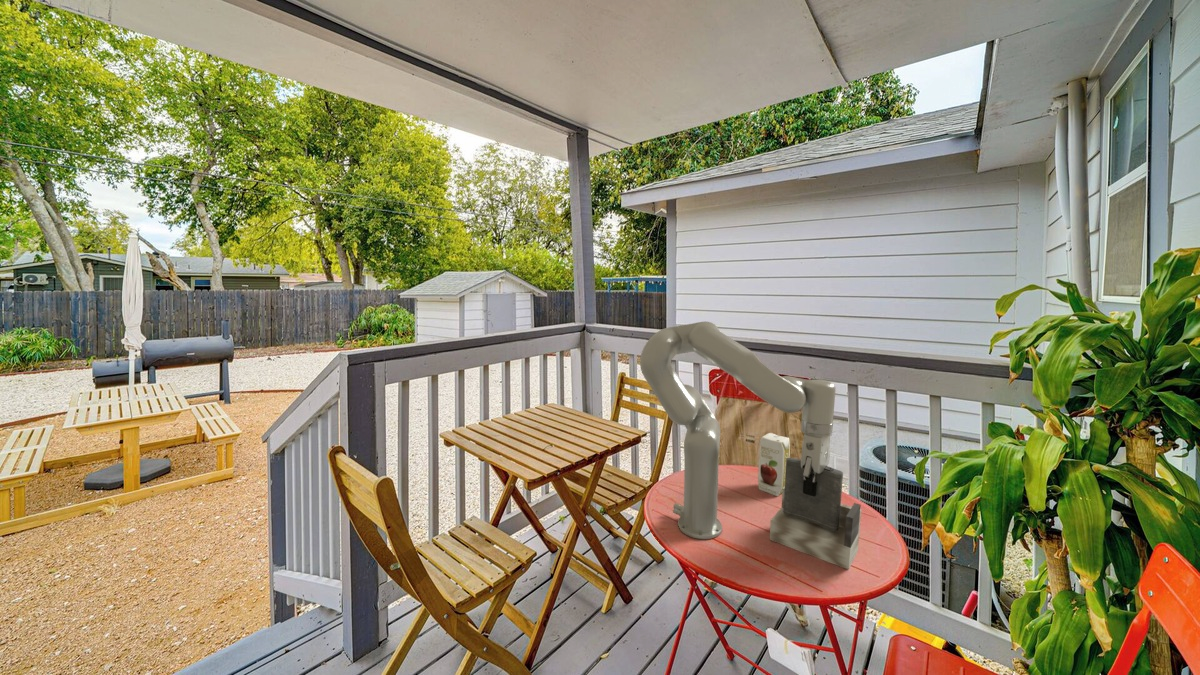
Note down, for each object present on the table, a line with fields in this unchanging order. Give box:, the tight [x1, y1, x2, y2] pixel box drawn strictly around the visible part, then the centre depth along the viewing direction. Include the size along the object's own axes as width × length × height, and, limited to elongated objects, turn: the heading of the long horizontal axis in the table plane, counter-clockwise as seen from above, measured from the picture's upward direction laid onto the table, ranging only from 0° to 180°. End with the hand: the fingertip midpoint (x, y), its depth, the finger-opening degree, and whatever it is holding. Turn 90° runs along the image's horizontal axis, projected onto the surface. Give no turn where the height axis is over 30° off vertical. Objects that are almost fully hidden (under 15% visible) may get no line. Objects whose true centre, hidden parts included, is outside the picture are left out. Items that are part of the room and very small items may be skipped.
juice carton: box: [757, 432, 791, 497], centre depth 156 cm, size 8×9×19 cm
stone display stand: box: [769, 487, 862, 570], centre depth 125 cm, size 20×10×14 cm, turn 50°
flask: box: [783, 457, 844, 531], centre depth 124 cm, size 4×14×18 cm, turn 47°
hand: (811, 490), depth 125 cm, fingers closed on flask, 3 cm apart
